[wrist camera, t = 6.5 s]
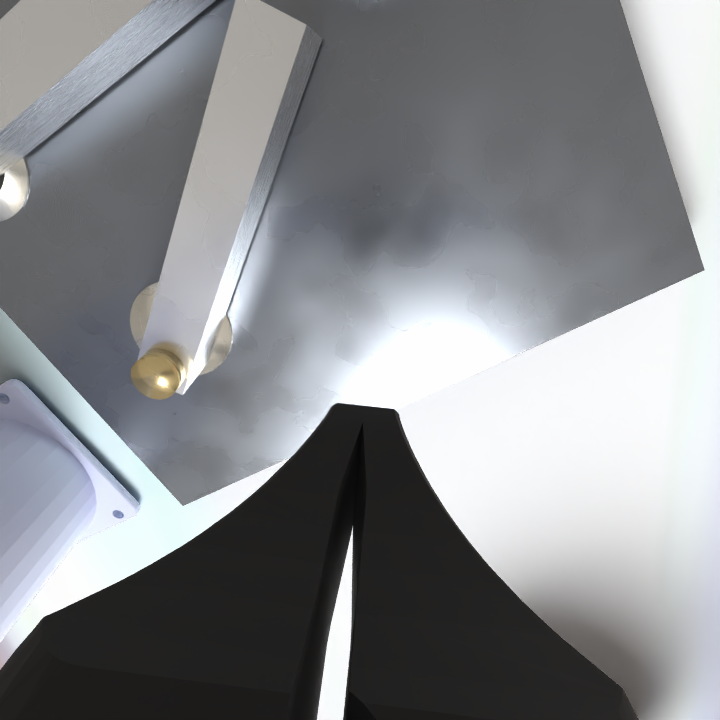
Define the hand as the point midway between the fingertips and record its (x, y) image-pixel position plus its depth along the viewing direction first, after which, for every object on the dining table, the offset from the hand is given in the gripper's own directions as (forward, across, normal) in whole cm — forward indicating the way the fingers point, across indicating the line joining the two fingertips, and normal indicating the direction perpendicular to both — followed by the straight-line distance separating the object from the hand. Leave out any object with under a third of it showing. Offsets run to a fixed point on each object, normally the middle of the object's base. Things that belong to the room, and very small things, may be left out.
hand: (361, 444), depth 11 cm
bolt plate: (+8, +4, -5) cm, 10 cm away
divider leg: (+7, +5, -3) cm, 9 cm away
